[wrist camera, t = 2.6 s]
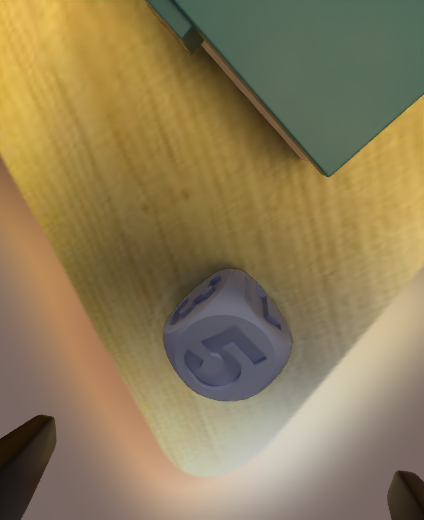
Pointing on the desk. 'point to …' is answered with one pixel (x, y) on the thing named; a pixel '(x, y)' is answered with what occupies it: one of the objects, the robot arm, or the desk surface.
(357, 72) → the box
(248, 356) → the decorative dice
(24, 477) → the robot arm
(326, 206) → the desk surface
